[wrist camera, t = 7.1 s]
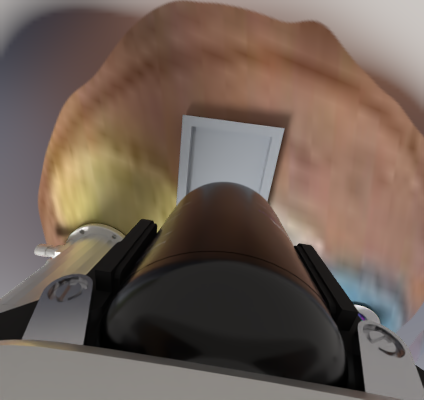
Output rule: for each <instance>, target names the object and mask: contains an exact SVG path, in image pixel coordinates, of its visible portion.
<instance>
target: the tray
mask: <svg viewBox="0 0 424 400" xmlns="http://www.w3.org/2000/svg"><path fill="white" fill-rule="evenodd" d="M284 129H285V128H278V127H270V126H263V125H256V124H248V123H241V122H233V121H226V120H218V119H211V118H204V117H196V116H189V115H183V120H182V134H181V148H180V162H179V176H178V190H177V204H176V206H177V205H178V203H179V202H180V201H181V200H182V199H183V198H184V197H185V196H186V195H187V194H188V193H189V192H191V191H192V190H194V189H196V188H198V187H200V186H202V185H205V184H208V183H213V182H233V183H238V184H241V185H244V186H247V187H249V188H251V189H253V190H254V191H256V192H257V193H259V194H260V195H261V196H262V197H263V198H264V199H265V200H266V201H268V197H269V192H270V188H271V184H272V180H273V175H274V171H275V167H276V163H277V158H278V154H279V150H280V146H281V141H282V137H283V133H284Z"/></svg>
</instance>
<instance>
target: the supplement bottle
mask: <svg viewBox="0 0 424 400" xmlns="http://www.w3.org/2000/svg"><path fill="white" fill-rule="evenodd" d="M94 347H99V348H106V349H113V350H119V351H125V352H132V353H138V354H144V355H150V356H156V357H162V358H169V359H175V360H181V361H187V362H193V363H199V364H205V365H211V366H217V367H223V368H229V369H235V370H241V371H247V372H253V373H259V374H265V375H271V376H277V377H282V378H288V379H294V380H300V381H305V382H311V383H317V384H323V385H328V386H334V387H340V388H346V389H348V385H349V370H348V358H347V353H346V348H345V344H344V341H343V338H342V335H341V333H340V331H339V329H338V327H337V325H336V323H335V321H334V318H333V316H332V314H331V312H330V310H329V308H328V307H327V305H326V303H325V301H324V299H323V298H322V296H321V294H320V292H319V290H318V289H317V287H316V285H315V283H314V281H313V280H312V278H311V276H310V274H309V272H308V271H307V269H306V267H305V265H304V264H303V262H302V260H301V258H300V256H299V255H298V253H297V251H296V249H295V247H294V246H293V244H292V242H291V240H290V238H289V237H288V235H287V233H286V231H285V230H284V228H283V226H282V224H281V222H280V221H279V219H278V217H277V215H276V214H275V212H274V210H273V209H272V207H271V206H270V204H269V203H268V202H267V201H266V200H265V199H264V198H263V197H262V196H261V195H260V194H259V193H257V192H256V191H254V190H253V189H251V188H249V187H247V186H244V185H241V184H238V183H233V182H213V183H208V184H205V185H202V186H200V187H198V188H196V189H194V190H192V191H191V192H189V193H188V194H187V195H186V196H185V197H184V198H183V199H182V200H181V201H180V202H179V203H178V205H177V206H176V207H175V208H174V210H173V211H172V213H171V214H170V215H169V217H168V218H167V220H166V221H165V223H164V224H163V225H162V227H161V228H160V230H159V231H158V233H157V234H156V235H155V237H154V238H153V240H152V241H151V243H150V244H149V245H148V247H147V248H146V250H145V251H144V253H143V254H142V255H141V257H140V258H139V260H138V261H137V263H136V264H135V265H134V267H133V268H132V270H131V271H130V273H129V274H128V275H127V277H126V278H125V280H124V281H123V283H122V284H121V286H120V287H119V288H118V290H117V291H116V293H115V295H114V296H113V298H112V299H111V301H110V303H109V304H108V306H107V308H106V309H105V311H104V313H103V315H102V317H101V319H100V322H99V324H98V327H97V331H96V335H95V339H94Z"/></svg>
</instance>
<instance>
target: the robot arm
mask: <svg viewBox="0 0 424 400" xmlns="http://www.w3.org/2000/svg"><path fill="white" fill-rule="evenodd" d="M156 234H157V224H154V222H153V221H151V220H145V219H141V220H140V221H139V222H138V223H137V225H136V226H135V227H134V228H133V229H132V230H131V231H130V232H129V233H128V234H127V235H126V236H125V235H123V234H122V233H121V232H120V231H118V230H116V229H115V228H113V227H110V226H108V225H104V224H96V223H93V224H86V225H83V226H81V227H79V228H78V229H76V230H75V231H73V232H72V233H71V234H70V236H69V237H68V239H67V241H66V244H65V245H58V246H57V247H55V246H52V245H47V244H39V245H38V246H37V247H36V248H35V254H36V255H39V256H45V257H52V258H53V259H48V260H47V261H46V264H45V265H44V266H43V267H42V268H40V269H39V270H38V271H36V272H35V273H34V274H32V275H31V276H30V277H28V278H27V279H26V280H24V281H23V282H22V283H20V284H19V285H18V286H16V287H15V288H14V289H13V290H11V291H10V292H9V293H7V294H6V295H5V296H3V297H2V298H1V299H0V400H424V370H422V369H420V368H419V367H418V366H416V365H415V363H414V360H413V357H412V355H411V352H410V350H409V348H408V347H407V345H406V344H405V343H404V342H403V341H402V339H401V338H399V337H398V336H397V335H396V334H395V333H394V332H392V331H391V330H389V329H388V328H386V327H385V326H383V325H381V324H379V323H376V322H373V321H368V320H364V321H362V320H361V319H360V317H359V316H358V313H359V311H358V310H357V309H356V307H355V306H354V304H353V303H352V302H351V300H350V299H349V297H348V296H347V295H346V293H345V292H344V290H343V289H342V288H341V286H340V285H339V283H338V282H337V280H336V279H335V278H334V276H333V275H332V273H331V272H330V271H329V269H328V268H327V266H326V265H325V264H324V262H323V261H322V259H321V258H320V257H319V255H318V254H317V252H316V251H315V250H314V248H313V247H312V246H311V245H306V244H298V245H297V246H294V247H295V249H296V251H297V253H298V255H299V256H300V258H301V260H302V262H303V264H304V265H305V267H306V269H307V271H308V272H309V274H310V276H311V278H312V280H313V281H314V283H315V285H316V287H317V289H318V290H319V292H320V294H321V296H322V298H323V299H324V301H325V303H326V305H327V307H328V308H329V310H330V312H331V314H332V316H333V318H334V321H335V323H336V325H337V327H338V329H339V331H340V333H341V335H342V338H343V341H344V344H345V348H346V353H347V358H348V370H349V385H348V389H346V388H340V387H334V386H328V385H323V384H317V383H311V382H305V381H300V380H294V379H288V378H282V377H277V376H271V375H265V374H259V373H253V372H247V371H241V370H235V369H229V368H223V367H217V366H211V365H205V364H199V363H193V362H187V361H181V360H175V359H169V358H162V357H156V356H150V355H144V354H138V353H132V352H125V351H119V350H113V349H106V348H99V347H94V339H95V335H96V331H97V327H98V324H99V322H100V319H101V317H102V315H103V313H104V311H105V309H106V308H107V306H108V304H109V303H110V301H111V299H112V298H113V296H114V295H115V293H116V291H117V290H118V288H119V287H120V286H121V284H122V283H123V281H124V280H125V278H126V277H127V275H128V274H129V273H130V271H131V270H132V268H133V267H134V265H135V264H136V263H137V261H138V260H139V258H140V257H141V255H142V254H143V253H144V251H145V250H146V248H147V247H148V245H149V244H150V243H151V241H152V240H153V238H154V237H155V235H156Z"/></svg>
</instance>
